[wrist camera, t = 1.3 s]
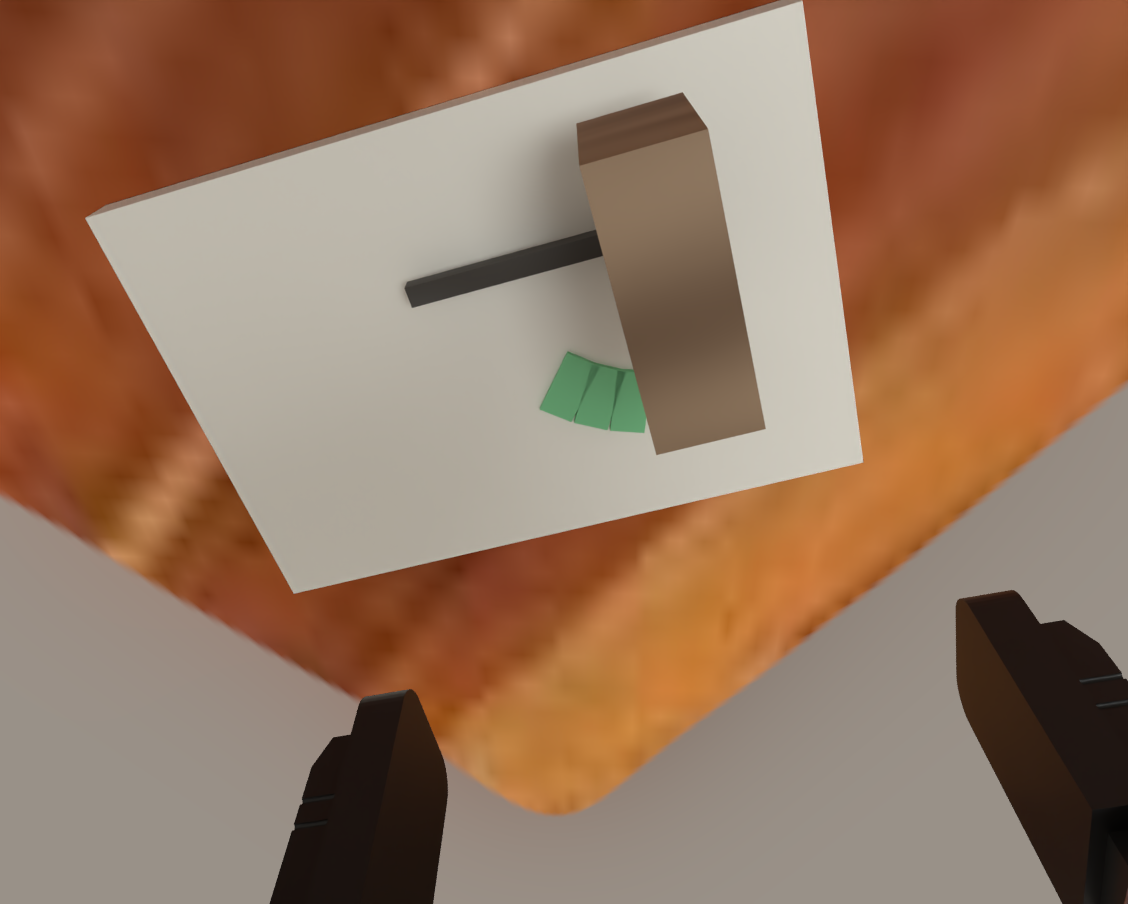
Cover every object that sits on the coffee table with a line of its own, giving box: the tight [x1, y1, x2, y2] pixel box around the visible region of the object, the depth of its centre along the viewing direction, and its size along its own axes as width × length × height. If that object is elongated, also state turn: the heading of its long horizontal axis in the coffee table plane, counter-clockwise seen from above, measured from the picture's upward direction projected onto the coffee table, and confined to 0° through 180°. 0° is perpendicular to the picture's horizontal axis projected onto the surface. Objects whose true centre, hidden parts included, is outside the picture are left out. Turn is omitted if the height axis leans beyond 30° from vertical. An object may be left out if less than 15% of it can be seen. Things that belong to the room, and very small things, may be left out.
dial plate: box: [85, 0, 863, 594], centre depth 32 cm, size 16×23×2 cm
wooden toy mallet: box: [404, 92, 766, 455], centre depth 26 cm, size 8×10×7 cm
